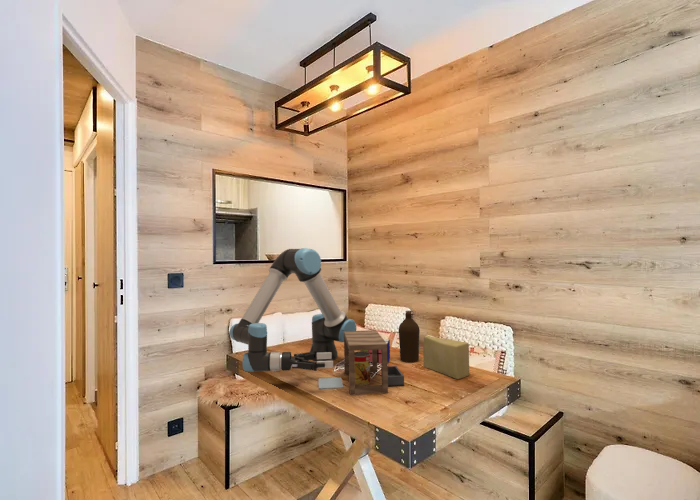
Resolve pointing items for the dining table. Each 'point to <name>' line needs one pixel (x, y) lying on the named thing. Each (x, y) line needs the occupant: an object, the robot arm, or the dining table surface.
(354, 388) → the tunnel
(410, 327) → the olive oil
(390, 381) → the tray
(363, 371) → the canned food
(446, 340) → the cheese
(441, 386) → the dining table surface
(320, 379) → the mat
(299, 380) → the dining table surface
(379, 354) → the puzzle cube
